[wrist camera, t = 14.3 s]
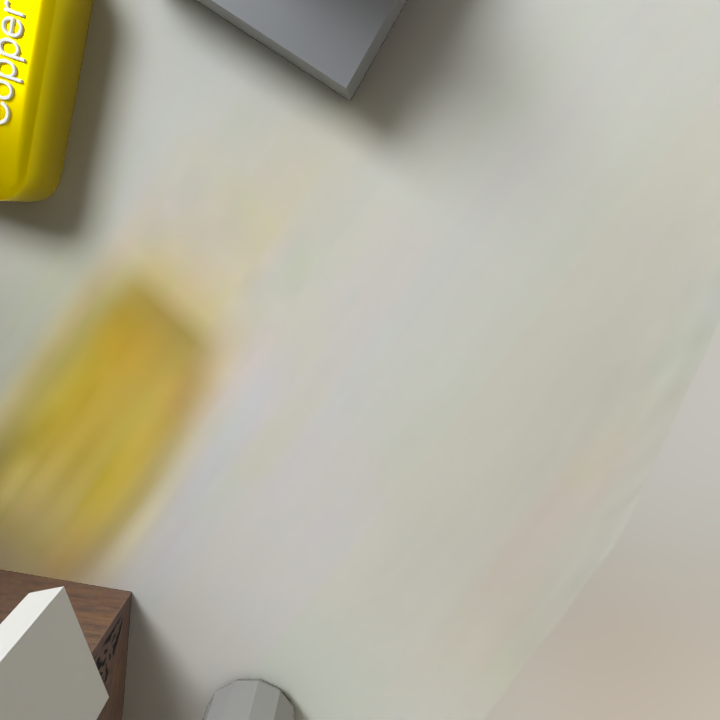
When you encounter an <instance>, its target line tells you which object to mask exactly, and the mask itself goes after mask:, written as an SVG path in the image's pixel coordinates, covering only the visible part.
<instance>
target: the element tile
mask: <svg viewBox="0 0 720 720" xmlns="http://www.w3.org/2000/svg"><path fill="white" fill-rule="evenodd" d="M92 4H93V0H0V201H41V200H44V199H46V198H47V197H49V196H51V195H52V194H53V192H54V191H55V189H56V188H57V187H58V184H59V181H60V178H61V175H62V169H63V164H64V158H65V153H66V147H67V142H68V136H69V131H70V125H71V120H72V114H73V109H74V103H75V98H76V92H77V87H78V81H79V76H80V70H81V65H82V59H83V54H84V48H85V43H86V37H87V32H88V26H89V21H90V15H91V10H92Z"/></svg>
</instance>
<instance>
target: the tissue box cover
mask: <svg viewBox="0 0 720 720" xmlns="http://www.w3.org/2000/svg"><path fill="white" fill-rule="evenodd" d="M63 586H64V588H65V590H66V593H67V595H68V598H69V600H70V603H71V605H72V607H73V610H74V612H75V615H76V617H77V620H78V622H79V625H80V627H81V630H82V632H83V634H84V637H85V639H86V642H87V644H88V647H89V649H90V652H91V654H92V656H93V659H94V661H95V664H96V666H97V669H98V671H99V674H100V676H101V679H102V681H103V683H104V686H105V688H106V691H107V693H108V696H109V698H108V700H107V702H106V703H105V705H104V707H103V709H102V711H101V712H100V714H99V716H98V718H97V720H122V714H123V701H124V688H125V675H126V662H127V649H128V636H129V623H130V610H131V597H132V592H129V591H123V590H117V589H111V588H106V587H100V586H94V585H88V584H82V583H76V582H70V581H64V580H58V579H52V578H46V577H40V576H34V575H28V574H23V573H17V572H11V571H5V570H0V624H1V623H2V622H3V621H4V620H5V619H6V618H7V616H8V615H9V614H10V613H11V612H12V611H13V610H14V609H15V608H16V607H17V606H18V604H19V603H20V602H21V601H22V600H23V599H24V598H25V597H26V596H27V595H28V594H29V593H32V592H37V591H42V590H47V589H52V588H58V587H63Z"/></svg>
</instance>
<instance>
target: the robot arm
mask: <svg viewBox="0 0 720 720" xmlns="http://www.w3.org/2000/svg"><path fill="white" fill-rule="evenodd" d="M108 698H109V696H108V693H107V691H106V688H105V686H104V683H103V681H102V679H101V676H100V674H99V671H98V669H97V666H96V664H95V661H94V659H93V656H92V654H91V652H90V649H89V647H88V644H87V642H86V639H85V637H84V634H83V632H82V630H81V627H80V625H79V622H78V620H77V617H76V615H75V612H74V610H73V607H72V605H71V603H70V600H69V598H68V595H67V593H66V590H65V588H64V586H63V587H58V588H52V589H47V590H42V591H37V592H32V593H29V594H28V595H27V596H26V597H25V598H24V599H23V600H22V601H21V602H20V603H19V604H18V606H17V607H16V608H15V609H14V610H13V611H12V612H11V613H10V614H9V615H8V616H7V618H6V619H5V620H4V621H3V622H2V623H1V624H0V720H97V718H98V716H99V714H100V712H101V711H102V709H103V707H104V705H105V703H106V702H107V700H108Z"/></svg>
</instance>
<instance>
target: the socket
mask: <svg viewBox="0 0 720 720" xmlns="http://www.w3.org/2000/svg"><path fill="white" fill-rule="evenodd" d="M197 1H198V2H200V3H201V4H203V5H204V6H206V7H207V8H209V9H210V10H212V11H213V12H215V13H216V14H218V15H220V16H221V17H223V18H224V19H226V20H227V21H229V22H230V23H232V24H233V25H235V26H236V27H238V28H239V29H241V30H242V31H244V32H245V33H247V34H249V35H250V36H252V37H253V38H255V39H256V40H258V41H259V42H261V43H262V44H264V45H265V46H267V47H268V48H270V49H271V50H273V51H275V52H276V53H278V54H279V55H281V56H282V57H284V58H285V59H287V60H288V61H290V62H291V63H293V64H294V65H296V66H297V67H299V68H300V69H302V70H304V71H305V72H307V73H308V74H310V75H311V76H313V77H314V78H316V79H317V80H319V81H320V82H322V83H323V84H325V85H326V86H328V87H329V88H331V89H333V90H334V91H336V92H337V93H339V94H340V95H342V96H343V97H345V98H346V99H348V100H349V101H350V100H351V99H352V97H353V95H354V93H355V92H356V90H357V88H358V86H359V85H360V83H361V81H362V79H363V77H364V76H365V74H366V72H367V70H368V69H369V67H370V65H371V63H372V61H373V60H374V58H375V56H376V54H377V53H378V51H379V49H380V47H381V46H382V44H383V42H384V40H385V38H386V37H387V35H388V33H389V31H390V30H391V28H392V26H393V24H394V22H395V21H396V19H397V17H398V15H399V14H400V12H401V10H402V8H403V7H404V5H405V3H406V1H407V0H197Z"/></svg>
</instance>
